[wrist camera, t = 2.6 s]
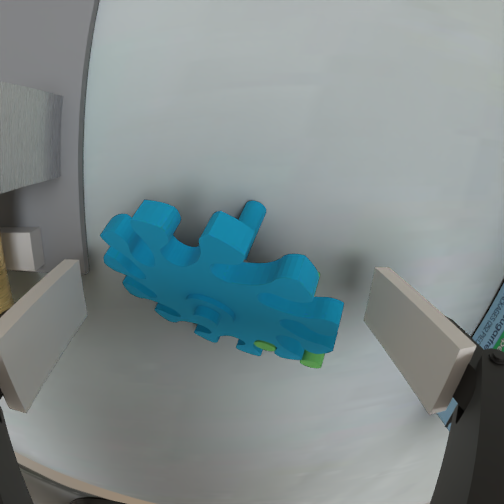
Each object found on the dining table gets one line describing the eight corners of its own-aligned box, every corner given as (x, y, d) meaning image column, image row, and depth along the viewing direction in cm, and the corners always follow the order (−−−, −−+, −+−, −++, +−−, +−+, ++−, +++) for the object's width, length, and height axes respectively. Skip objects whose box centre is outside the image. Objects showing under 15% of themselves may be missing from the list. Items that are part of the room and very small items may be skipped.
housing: (89, 270, 16) (58, 304, 12) (-26, 264, 15) (-63, 289, 11) (131, -104, 8) (118, -139, 5) (12, -67, 7) (-13, -88, 4)
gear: (75, 271, 14) (139, 185, 6) (135, 184, 17) (242, 66, 9) (243, 374, 18) (398, 381, 11) (274, 291, 21) (415, 257, 14)
